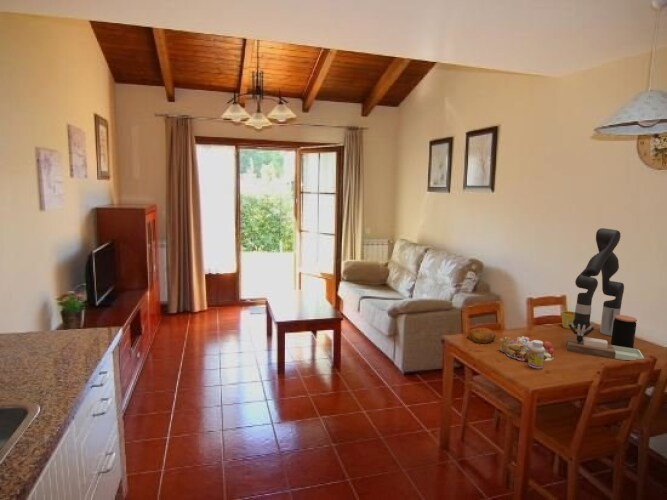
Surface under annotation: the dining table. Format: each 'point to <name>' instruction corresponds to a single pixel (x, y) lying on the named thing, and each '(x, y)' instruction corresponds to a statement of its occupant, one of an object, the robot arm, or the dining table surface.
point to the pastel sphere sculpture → (523, 348)
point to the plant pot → (567, 318)
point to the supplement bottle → (536, 354)
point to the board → (590, 349)
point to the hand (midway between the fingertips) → (579, 341)
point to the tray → (627, 353)
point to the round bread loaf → (481, 335)
